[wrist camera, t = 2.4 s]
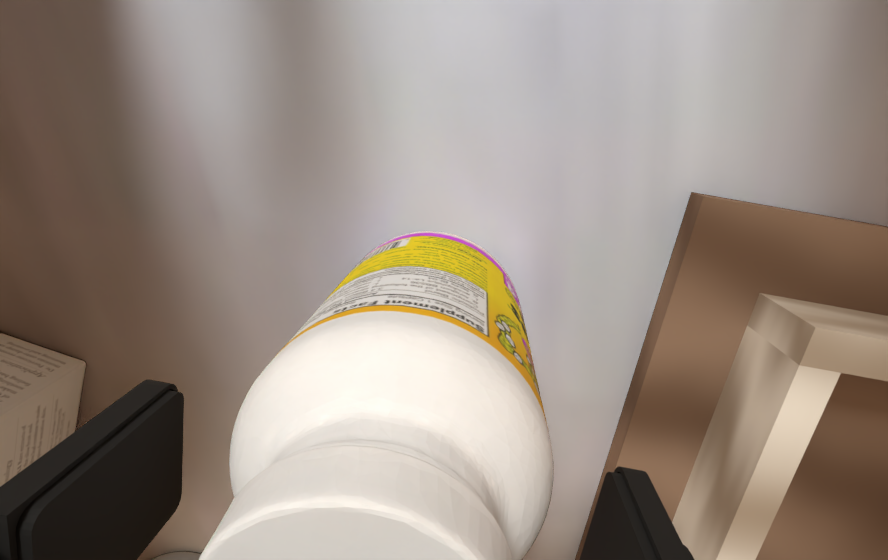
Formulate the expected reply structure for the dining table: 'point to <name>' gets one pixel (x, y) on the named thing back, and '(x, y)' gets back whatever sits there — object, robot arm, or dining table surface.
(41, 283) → the dining table surface
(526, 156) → the dining table surface
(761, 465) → the collar dock
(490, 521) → the supplement bottle
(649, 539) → the robot arm
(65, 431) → the skincare box
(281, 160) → the dining table surface
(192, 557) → the travel mug
